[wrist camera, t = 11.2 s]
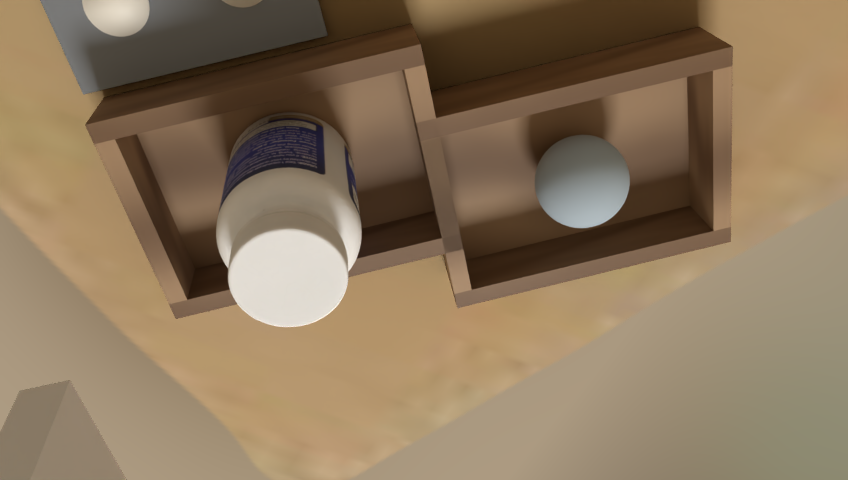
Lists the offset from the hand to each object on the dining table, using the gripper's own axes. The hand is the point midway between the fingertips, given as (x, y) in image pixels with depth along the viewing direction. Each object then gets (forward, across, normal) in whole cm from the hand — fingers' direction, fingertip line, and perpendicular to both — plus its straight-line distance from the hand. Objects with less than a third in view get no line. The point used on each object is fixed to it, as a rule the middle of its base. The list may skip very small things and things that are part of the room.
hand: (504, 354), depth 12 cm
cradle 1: (+21, -6, -6) cm, 23 cm away
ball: (+21, +7, -8) cm, 24 cm away
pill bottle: (+21, -5, -6) cm, 23 cm away
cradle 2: (+21, +7, -8) cm, 24 cm away
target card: (+22, -8, +2) cm, 23 cm away
